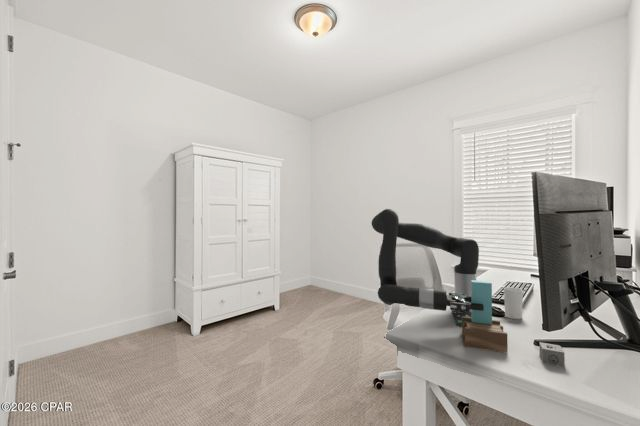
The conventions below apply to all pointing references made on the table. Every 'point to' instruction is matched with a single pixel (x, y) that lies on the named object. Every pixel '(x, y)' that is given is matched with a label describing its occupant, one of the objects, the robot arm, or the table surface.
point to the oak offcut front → (484, 328)
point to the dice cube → (552, 354)
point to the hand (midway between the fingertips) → (481, 303)
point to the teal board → (481, 301)
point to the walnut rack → (484, 337)
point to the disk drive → (460, 316)
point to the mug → (513, 302)
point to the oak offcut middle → (483, 326)
